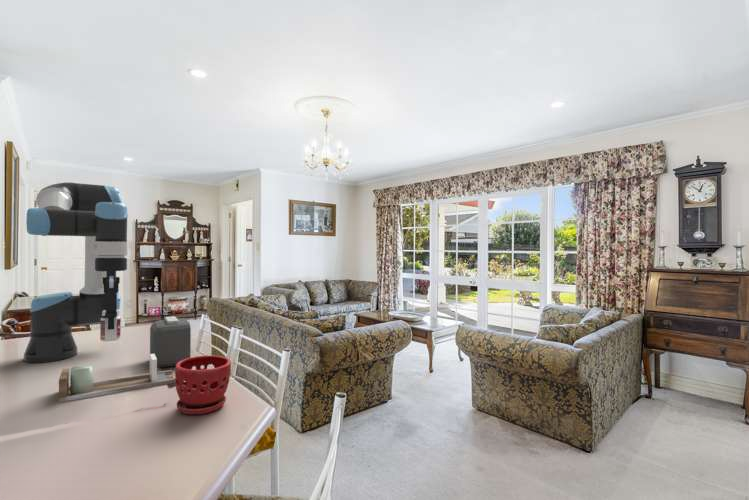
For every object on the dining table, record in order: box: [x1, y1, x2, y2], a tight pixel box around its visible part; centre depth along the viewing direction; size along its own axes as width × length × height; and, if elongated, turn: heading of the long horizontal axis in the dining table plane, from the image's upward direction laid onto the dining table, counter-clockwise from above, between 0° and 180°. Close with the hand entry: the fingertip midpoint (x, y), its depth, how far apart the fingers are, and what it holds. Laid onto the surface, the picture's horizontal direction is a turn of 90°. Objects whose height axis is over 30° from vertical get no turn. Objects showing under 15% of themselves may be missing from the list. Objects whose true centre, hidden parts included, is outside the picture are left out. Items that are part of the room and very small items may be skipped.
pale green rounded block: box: [69, 364, 94, 395], centre depth 104 cm, size 5×5×7 cm
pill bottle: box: [99, 309, 122, 342], centre depth 108 cm, size 5×5×8 cm
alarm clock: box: [149, 315, 192, 368], centre depth 136 cm, size 16×11×16 cm
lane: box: [58, 367, 176, 404], centre depth 110 cm, size 10×27×7 cm, turn 125°
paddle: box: [149, 353, 167, 382], centre depth 115 cm, size 7×4×7 cm, turn 35°
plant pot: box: [174, 355, 232, 415], centre depth 98 cm, size 13×13×12 cm
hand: (110, 338), depth 108 cm, fingers closed on pill bottle, 5 cm apart
